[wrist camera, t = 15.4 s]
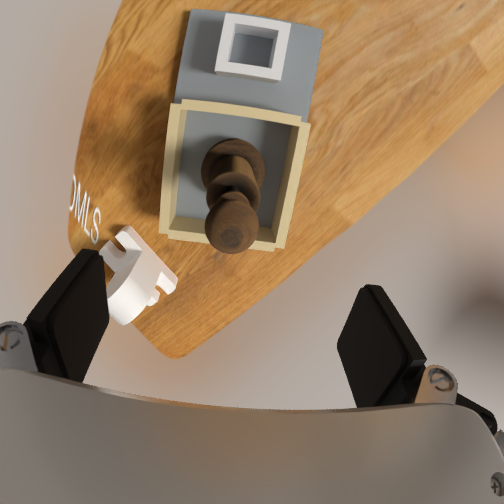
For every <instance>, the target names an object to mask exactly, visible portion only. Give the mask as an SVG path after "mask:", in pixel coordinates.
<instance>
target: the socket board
mask: <svg viewBox="0 0 504 504" xmlns="http://www.w3.org/2000/svg"><path fill="white" fill-rule="evenodd" d="M323 32H324V30H322V29H318V28H314V27H310V26H306V25H302V24H298V23H293V22H289V21H284V20H279V19H274V18H268V17H262V16H256V15H250V14H243V13H235V12H226V11H215V10H202V9H191V13H190V17H189V22H188V26H187V31H186V36H185V41H184V46H183V51H182V56H181V62H180V68H179V73H178V79H177V86H176V92H175V99H174V103H171V105H170V112H169V120H168V128H167V136H166V145H165V155H164V165H163V176H162V189H161V203H160V220H159V233H164V234H168V239H176V240H184V241H192V242H200V243H208V244H210V242H209V241H208V239H207V237H206V234H205V220H206V217H207V214H208V213H209V211H210V210H209V208H208V206H207V202H206V193H207V190H206V189H205V187H204V185H203V182H202V178H201V166H202V162H203V160H204V158H205V155H206V154H207V152H208V151H209V150H210V148H211V147H213V146H214V145H215V144H216V143H218V142H220V141H222V140H225V139H231V138H236V139H241V140H244V141H247V142H249V143H250V144H252V145H253V146H254V147H255V148H256V149H257V150H258V152H259V153H260V155H261V157H262V159H263V161H264V165H265V178H264V181H263V184H262V186H261V188H260V189H259V192H260V204H259V207H258V209H257V211H256V212H255V213H256V215H257V218H258V222H259V230H258V235H257V237H256V239H255V241H254V243H253V244H252V245H251V246H250V247H249V248H248V249H256V250H263V251H271V252H274V248H282V249H284V246H285V242H286V238H287V233H288V229H289V224H290V220H291V216H292V211H293V207H294V202H295V198H296V193H297V188H298V184H299V179H300V174H301V170H302V165H303V160H304V156H305V151H306V146H307V141H308V136H309V131H310V126H311V124H310V123H307V118H308V113H309V108H310V103H311V98H312V92H313V87H314V82H315V76H316V71H317V66H318V60H319V54H320V49H321V43H322V38H323Z"/></svg>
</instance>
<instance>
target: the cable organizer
mask: <svg viewBox="0 0 504 504" xmlns="http://www.w3.org/2000/svg"><path fill="white" fill-rule="evenodd" d="M115 238H116V239H117V240H118V241H119V242H120V243H121V244H122V245H123V247H124V248H125V250H126V252H122V251H120V250H119V249H118V248H117V247H116V246H115V245H114V244H113V243H112V241H111V240H109V241H108V242H107V243H106V244H105V245H104V246H103V247H102V248H101V250H100V251H99V255H102V256H103V260H104V261H105V262H106V263H107V265H108V266H109V267H110V268H111V269H112V270H113V271H114V272H115V274H114V276H113V277H112V279H111V281H110V282H109V284H108V286H107V287H106V292H107V300H108V308H109V314H110V315H111V316H112V317H113V318H114V319H115V320H116V321H117V322H118V323H119V324H120V325H126V324H128V323H129V322H131V321H132V320H133V319H134V318H136V317H137V316H138V315H139V314H140V313H141V311H142V310H143V309H144V308H145V307H146V305H148V306H152V305H153V304H155V303H156V302H157V301H158V298H159V296H160V293H159V292H158V291H157V290H156V289H155V286H156V285H158V286H160V287H161V288H162V289H163V290H164V291H165V292H166V293H167V294H170V293H171V292H173V291H174V290H175V288H176V284H177V281H178V278H177V277H176V276H175V275H174V273H173V272H172V271H171V270H170V269H169V268H168V267H167V266H166V265H165V264H164V263H163V262H162V260H161V259H160V258H159V257H158V256H157V255H156V254H155V253H154V252H153V251H152V249H151V248H150V247H149V246H148V245H147V244H146V243H145V242H144V240H143V239H142V238H141V237H140V236H139V235H138V234H137V233H136V231H135V230H134V229H133V228H132V227H131V226H129V225H127V226H125V227H124V228H123V229H121V230H120V231H119V233H118V234H117V235H116V236H115Z"/></svg>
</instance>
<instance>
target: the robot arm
mask: <svg viewBox="0 0 504 504" xmlns="http://www.w3.org/2000/svg"><path fill="white" fill-rule="evenodd" d="M108 323H109V308H108V300H107V292H106V283H105V272H104V260H103V256H102V255H99V252H98V251H97V250H90V249H82V250H81V251H80V252H79V253H78V254H77V255H76V257H75V258H74V259H73V260H72V261H71V263H70V264H69V265H68V266H67V267H66V268H65V270H64V271H63V272H62V273H61V274H60V275H59V277H58V278H57V279H56V281H55V282H54V283H53V284H52V285H51V287H50V288H49V289H48V291H47V292H46V293H45V294H44V295H43V297H42V298H41V299H40V301H39V302H38V303H37V305H36V306H35V307H34V309H33V310H32V311H31V313H30V314H29V315H28V317H27V320H26V321H25V322H24V324H23V325H22V324H21V323H18V322H14V321H9V322H4V323H1V324H0V504H504V432H503V431H502V430H501V429H500V430H499V431H498V432H497V422H496V419H495V417H494V415H493V414H492V413H491V412H490V411H488V410H487V409H485V408H483V407H481V406H480V405H478V404H476V403H475V402H473V401H471V400H469V399H467V398H466V397H464V396H462V395H460V394H458V393H457V389H458V383H457V380H456V378H455V377H454V375H453V374H452V373H451V372H450V371H449V370H448V369H446V368H444V367H442V366H439V365H430V366H428V367H427V368H426V367H425V365H424V363H425V362H426V360H427V358H426V357H425V355H424V353H423V351H422V350H421V348H420V346H419V345H418V343H417V341H416V340H415V338H414V336H413V335H412V333H411V332H410V330H409V328H408V327H407V325H406V324H405V322H404V320H403V319H402V317H401V316H400V314H399V313H398V311H397V309H396V308H395V306H394V305H393V303H392V302H391V300H390V299H389V297H388V296H387V294H386V293H385V291H384V290H383V288H382V287H381V286H379V285H370V284H367V285H365V286H364V287H363V288H360V290H359V292H358V294H357V297H356V299H355V302H354V304H353V307H352V309H351V311H350V314H349V316H348V319H347V321H346V323H345V326H344V328H343V330H342V332H341V335H340V337H339V339H338V342H337V350H338V353H339V356H340V358H341V361H342V364H343V367H344V370H345V373H346V376H347V379H348V382H349V385H350V388H351V391H352V394H353V397H354V400H355V403H356V406H357V408H349V409H329V410H328V409H326V410H274V409H249V408H235V407H222V406H211V405H201V404H193V403H185V402H177V401H170V400H163V399H157V398H151V397H145V396H140V395H135V394H129V393H125V392H119V391H115V390H110V389H106V388H101V387H97V386H92V385H88V384H84V383H82V382H83V380H84V378H85V375H86V373H87V370H88V368H89V366H90V363H91V361H92V359H93V356H94V354H95V352H96V350H97V347H98V345H99V343H100V341H101V338H102V336H103V334H104V332H105V330H106V328H107V326H108Z"/></svg>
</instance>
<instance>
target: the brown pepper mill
mask: <svg viewBox="0 0 504 504" xmlns="http://www.w3.org/2000/svg"><path fill="white" fill-rule="evenodd" d="M201 178H202V182H203V185H204V187H205V189H206V190H207V193H206V202H207V206H208V208H209V210H210V211H209V213H208V214H207V217H206V220H205V234H206V237H207V239H208V241H209V242H210V244H211V245H212V246H213V247H214V248H216V249H217V250H219V251H221V252H223V253H227V254H236V253H240V252H243V251H245V250H246V249H248V248H249V247H250V246H251V245H252V244H253V243H254V241H255V239H256V237H257V235H258V230H259V222H258V218H257V215H256V213H255V212H256V211H257V209H258V207H259V204H260V192H259V189H260V188H261V186H262V184H263V181H264V178H265V165H264V161H263V159H262V157H261V155H260V153H259V152H258V150H257V149H256V148H255V147H254V146H253V145H252V144H250V143H249V142H247V141H244V140H241V139H236V138H231V139H225V140H222V141H220V142H218V143H216V144H215V145H214V146H213V147H211V148H210V150H209V151H208V152H207V154H206V155H205V158H204V160H203V162H202V166H201Z"/></svg>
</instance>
